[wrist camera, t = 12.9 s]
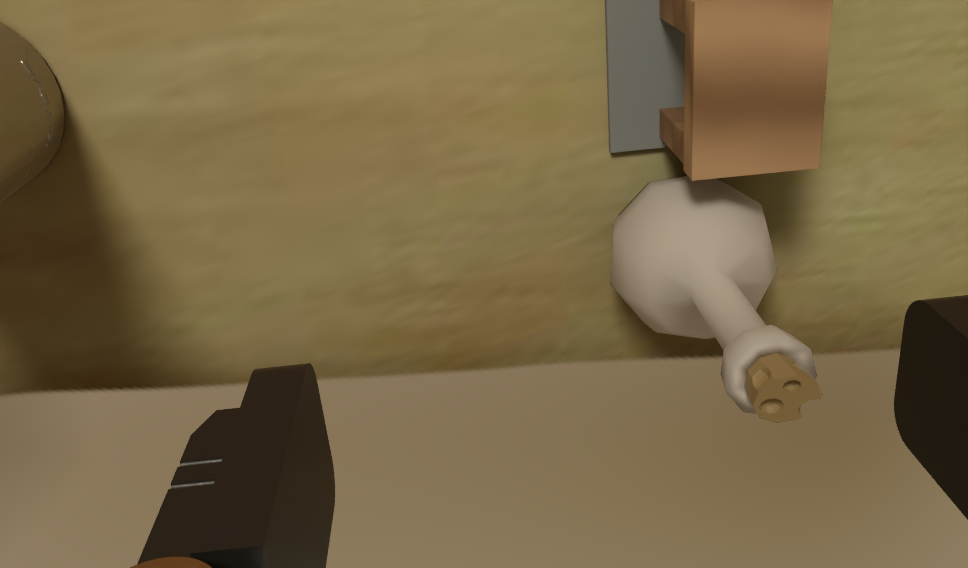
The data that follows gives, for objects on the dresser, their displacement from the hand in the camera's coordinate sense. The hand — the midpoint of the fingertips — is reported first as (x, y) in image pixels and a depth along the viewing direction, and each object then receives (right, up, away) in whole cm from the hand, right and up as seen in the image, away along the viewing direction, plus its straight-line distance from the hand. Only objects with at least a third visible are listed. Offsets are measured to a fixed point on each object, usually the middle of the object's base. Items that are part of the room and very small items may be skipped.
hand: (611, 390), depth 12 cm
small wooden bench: (+10, +13, +34) cm, 38 cm away
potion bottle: (+9, +4, +39) cm, 40 cm away
